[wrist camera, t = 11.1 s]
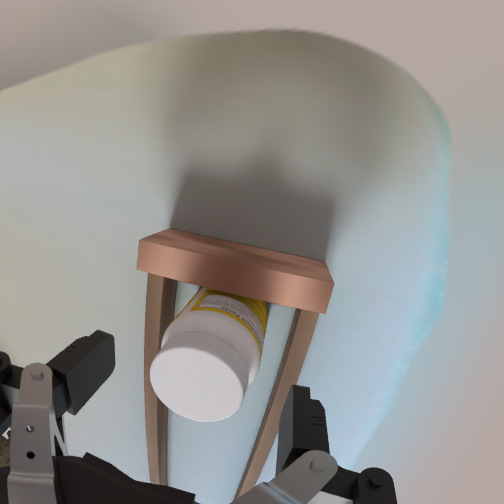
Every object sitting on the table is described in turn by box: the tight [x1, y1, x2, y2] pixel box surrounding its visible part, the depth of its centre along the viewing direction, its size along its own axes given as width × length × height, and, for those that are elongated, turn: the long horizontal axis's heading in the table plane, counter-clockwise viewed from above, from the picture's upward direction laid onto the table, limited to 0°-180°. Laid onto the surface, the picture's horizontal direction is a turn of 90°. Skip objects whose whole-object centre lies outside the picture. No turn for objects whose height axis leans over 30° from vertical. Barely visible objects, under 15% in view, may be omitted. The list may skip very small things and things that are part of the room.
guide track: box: [137, 228, 334, 501], centre depth 20 cm, size 10×32×4 cm, turn 169°
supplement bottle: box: [150, 287, 268, 422], centre depth 15 cm, size 5×5×8 cm
